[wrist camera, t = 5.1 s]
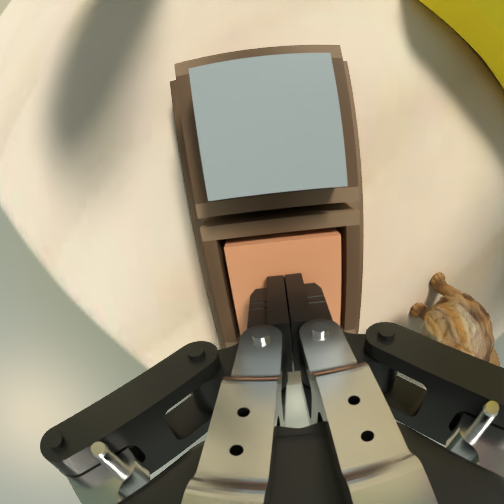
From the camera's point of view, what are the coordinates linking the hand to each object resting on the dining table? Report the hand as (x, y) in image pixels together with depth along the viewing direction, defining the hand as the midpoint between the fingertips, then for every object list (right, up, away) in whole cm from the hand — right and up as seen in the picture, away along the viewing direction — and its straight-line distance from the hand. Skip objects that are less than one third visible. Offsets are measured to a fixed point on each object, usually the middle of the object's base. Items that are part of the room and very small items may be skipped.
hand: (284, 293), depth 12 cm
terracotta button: (0, +1, +3) cm, 3 cm away
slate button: (-1, +7, -1) cm, 7 cm away
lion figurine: (+13, -3, +6) cm, 15 cm away
